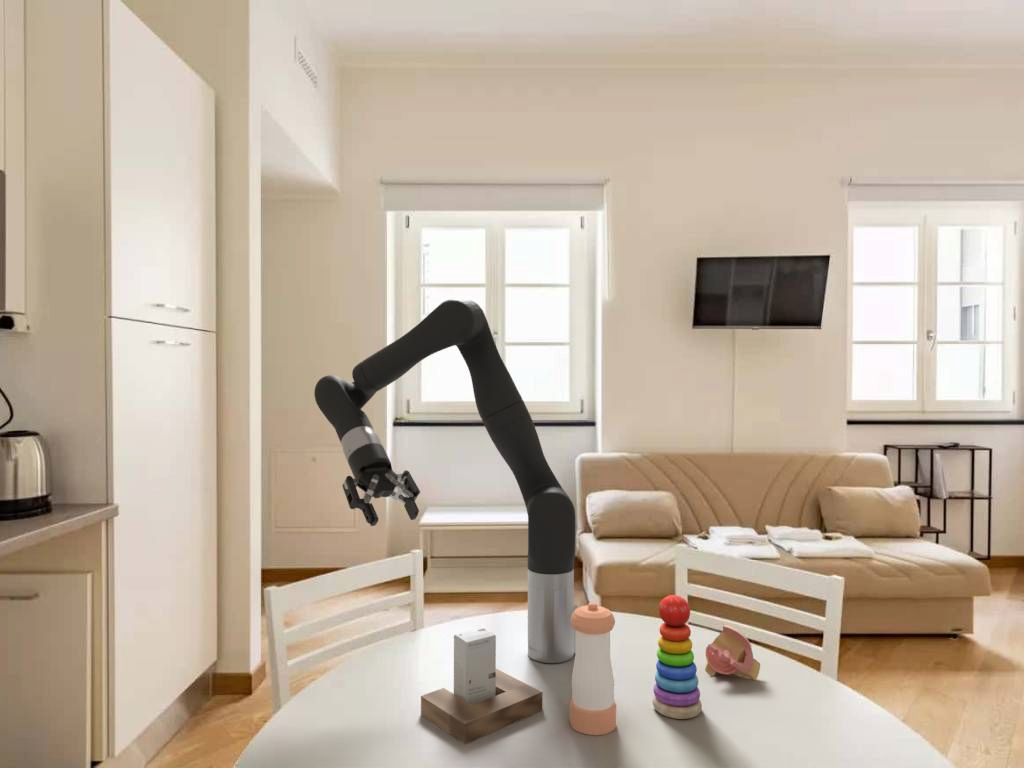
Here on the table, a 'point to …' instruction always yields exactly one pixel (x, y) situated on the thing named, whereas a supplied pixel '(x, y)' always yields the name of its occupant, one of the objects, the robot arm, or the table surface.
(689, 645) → the stacking toy
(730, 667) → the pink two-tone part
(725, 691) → the table surface
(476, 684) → the skincare box
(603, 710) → the pepper shaker
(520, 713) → the notched board
